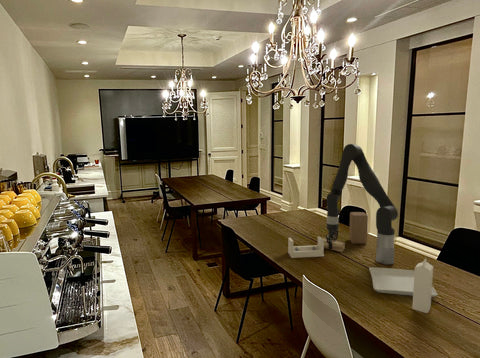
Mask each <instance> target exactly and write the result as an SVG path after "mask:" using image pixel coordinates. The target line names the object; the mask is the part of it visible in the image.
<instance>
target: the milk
mask: <svg viewBox="0 0 480 358" xmlns="http://www.w3.org/2000/svg"><path fill="white" fill-rule="evenodd" d="M414 271H415V273H414V289H413V296H412V306H411V307H412V310H415V311H418V312H422V313H425V314H428V313H429V312H430V309H431V306H432V305H431V304H432V297H431V294H432V286H433V279H434V278H433V276H434V265H432V264H430V263H429V262H428V261H427V258H425V259H423V261H421V262H419V263H417V264H416V265H415V267H414Z"/></svg>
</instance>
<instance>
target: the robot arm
mask: <svg viewBox="0 0 480 358" xmlns="http://www.w3.org/2000/svg"><path fill="white" fill-rule="evenodd" d="M352 162H353V163H354V165H355V166H356V169H357V171H358V172H357V173H358V177H359V178H358V179H359V181H360V184H361V185H362V187H363V188H364V190H365V191H366V192H367V193H368V194H369V196H371V197H372V198H373V199H374V200H375V201H376V202H377V203H378V206H379V208H377V210H376V213H375V226H376V227H375V228H376V231H377V232H376V234H377V235H376V249H375V250H376V254H375V255H376V257H375V261H376V262H377V263H379V264H381V265H394V260H395V248H394V247H395V228H393V225H392V222H393V221H395V220H396V219H397V218H398V216H399V212H398V210H397V208H396V206H395V204H394V203H393V202H392V200H391V198H389V196H388V194H387V193H386V191H385V190H384V189H385V188H383V186H382V184H381V183H380V181H379V178H378V177H377V175H376V173H375V171H374V170H373V168H372V167H371V165H370V164H369V162H368V159H367V158H366V156H365V153H364V150H363V149H362V147H361V146H360V145H359V144H356V143H355V144H353V143H349V144H346V145H345V146H344V147H343V150H342V154H341V157H340V162H339V167H338V169H337V173H336V175H335V177H334V179H333V180H334V181H333V183H332V185H331V186H332V188H331V191H330V192H329V193H328V194H327V196H326V208H327V209H326V211H327V214H326V215H327V216H326V230H327V231H328V234H326V235H325V237H326V238H325V239H327V243H329V249H328V250H331V249H332V242H333V240H335V241H338V236H339V228H340V227H339V226H340V225H339V224H340V223H339V222H340V221H339V218H340V217H339V216H340V215H339V213H340V211H339V207H338V202H339V200H340V198H341V197H342V193H343V190H344V188H345V185H346V183H347V181H348V176H349V169H350V166H351V163H352Z"/></svg>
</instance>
